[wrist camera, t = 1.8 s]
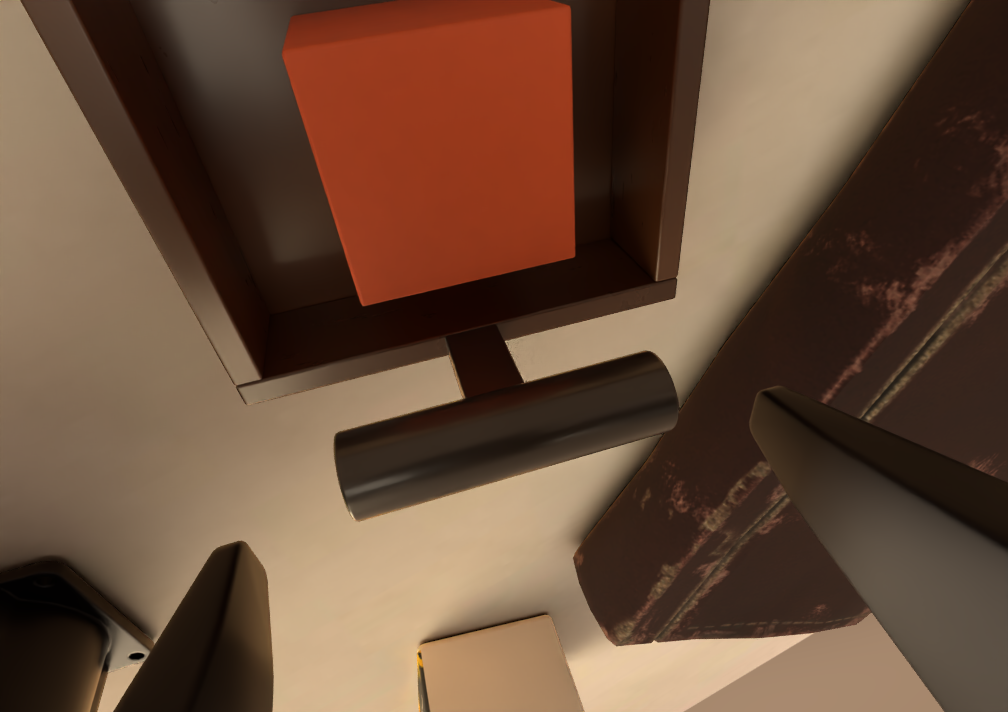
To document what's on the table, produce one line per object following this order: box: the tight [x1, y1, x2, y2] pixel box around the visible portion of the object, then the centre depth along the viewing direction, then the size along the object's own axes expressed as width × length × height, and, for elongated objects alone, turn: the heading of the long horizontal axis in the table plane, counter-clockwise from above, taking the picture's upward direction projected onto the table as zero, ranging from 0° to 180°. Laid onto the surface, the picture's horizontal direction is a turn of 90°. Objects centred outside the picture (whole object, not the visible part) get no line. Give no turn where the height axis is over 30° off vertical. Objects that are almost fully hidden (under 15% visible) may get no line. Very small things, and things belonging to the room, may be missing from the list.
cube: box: [282, 0, 575, 306], centre depth 10 cm, size 4×4×4 cm
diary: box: [573, 0, 1008, 646], centre depth 21 cm, size 19×25×5 cm
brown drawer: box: [20, 0, 710, 521], centre depth 9 cm, size 11×10×7 cm
